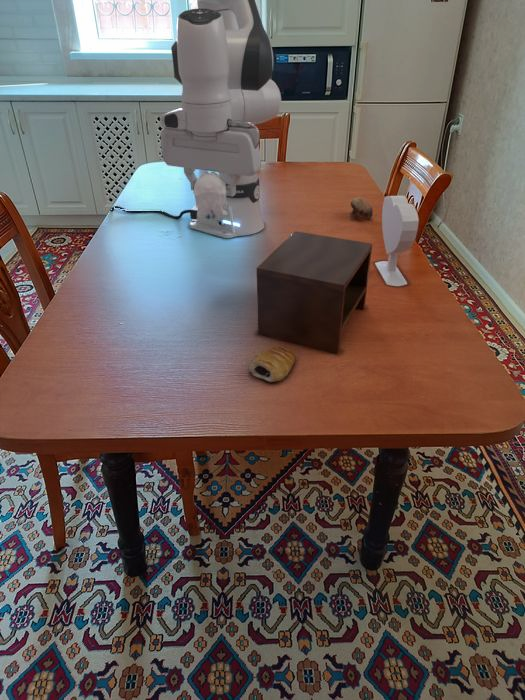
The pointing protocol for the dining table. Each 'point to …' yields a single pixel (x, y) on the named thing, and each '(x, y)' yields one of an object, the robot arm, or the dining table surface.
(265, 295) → the shelf stand
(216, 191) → the white figurine
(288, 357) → the pastry
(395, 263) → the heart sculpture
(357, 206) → the mushroom
